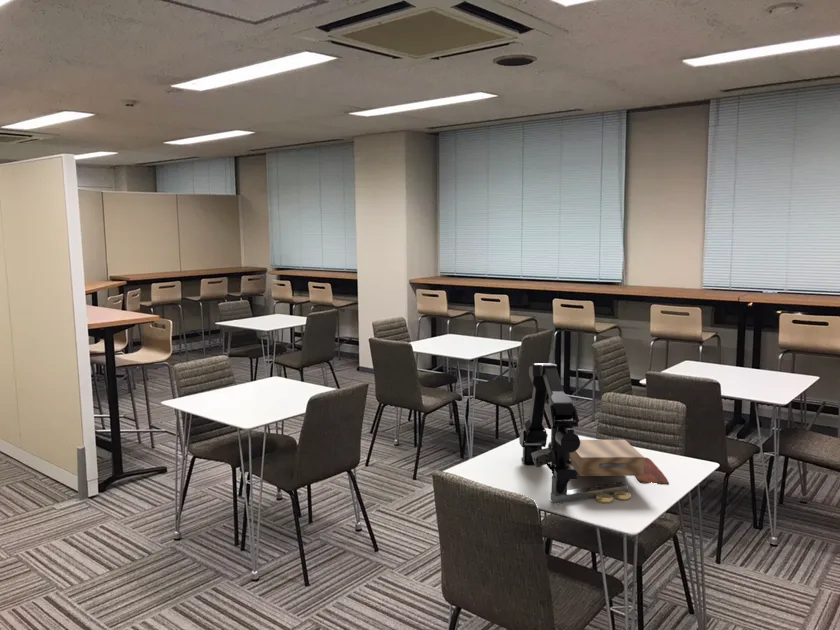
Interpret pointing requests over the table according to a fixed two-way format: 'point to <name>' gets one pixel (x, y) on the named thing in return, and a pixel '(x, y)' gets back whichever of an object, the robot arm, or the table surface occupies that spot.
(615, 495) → the brass disc
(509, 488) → the table surface
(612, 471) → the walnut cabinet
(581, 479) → the table surface
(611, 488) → the gray l-shaped bracket
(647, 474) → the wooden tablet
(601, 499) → the brass disc
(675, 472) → the table surface
